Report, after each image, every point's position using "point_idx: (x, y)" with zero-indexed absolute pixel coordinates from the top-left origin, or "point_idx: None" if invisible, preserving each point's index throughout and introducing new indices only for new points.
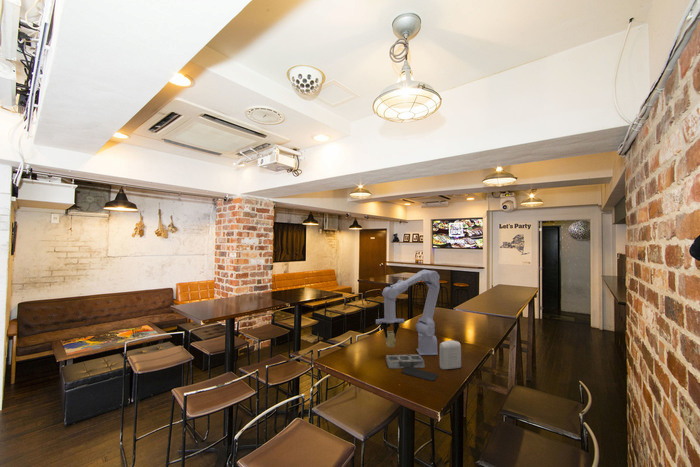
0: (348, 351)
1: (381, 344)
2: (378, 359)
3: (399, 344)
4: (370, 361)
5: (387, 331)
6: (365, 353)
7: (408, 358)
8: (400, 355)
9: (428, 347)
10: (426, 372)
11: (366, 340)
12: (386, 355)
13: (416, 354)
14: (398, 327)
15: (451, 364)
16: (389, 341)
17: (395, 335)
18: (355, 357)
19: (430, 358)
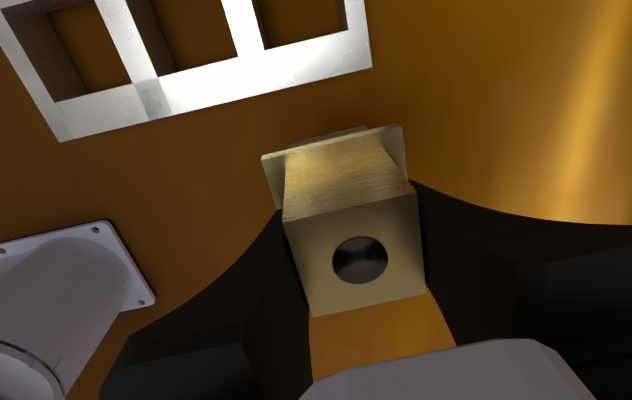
0: (626, 199)
1: (387, 332)
2: (421, 92)
3: None
4: (492, 37)
5: (406, 286)
6: (509, 186)
7: (151, 50)
8: (231, 85)
9: (10, 271)
10: None
11: None
12: (366, 60)
13: (86, 135)
14: (163, 318)
15: None
16: (355, 133)
17: (269, 222)
18: (601, 100)
19: (20, 181)
